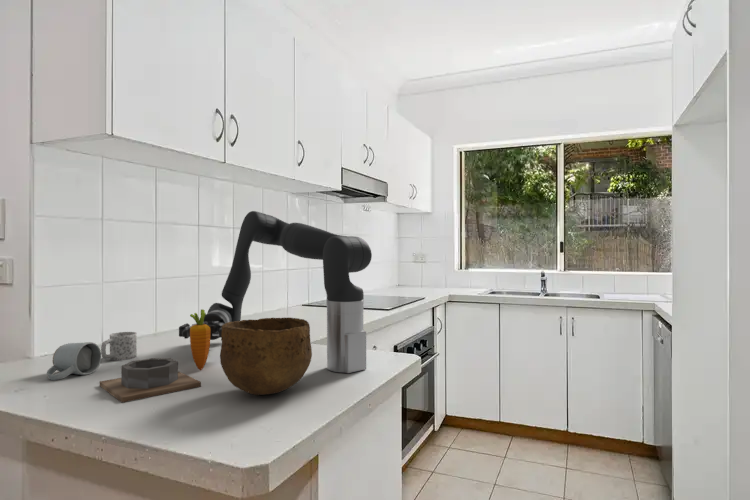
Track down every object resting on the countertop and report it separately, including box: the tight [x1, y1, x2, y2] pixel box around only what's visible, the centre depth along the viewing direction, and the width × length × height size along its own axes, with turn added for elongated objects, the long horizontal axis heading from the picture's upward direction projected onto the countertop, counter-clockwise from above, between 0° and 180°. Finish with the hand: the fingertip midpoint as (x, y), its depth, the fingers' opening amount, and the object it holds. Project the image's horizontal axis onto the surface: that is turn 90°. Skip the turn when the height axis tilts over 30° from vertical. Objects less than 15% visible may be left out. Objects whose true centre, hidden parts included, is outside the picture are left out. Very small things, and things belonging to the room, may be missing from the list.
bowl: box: [219, 317, 313, 396], centre depth 102 cm, size 19×19×15 cm
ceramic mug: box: [46, 341, 102, 381], centre depth 117 cm, size 11×8×8 cm
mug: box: [100, 331, 138, 361], centre depth 134 cm, size 10×7×7 cm
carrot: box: [189, 308, 211, 371], centre depth 121 cm, size 5×5×15 cm
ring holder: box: [99, 357, 202, 403], centre depth 107 cm, size 16×16×5 cm
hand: (203, 334), depth 124 cm, fingers open, 8 cm apart
